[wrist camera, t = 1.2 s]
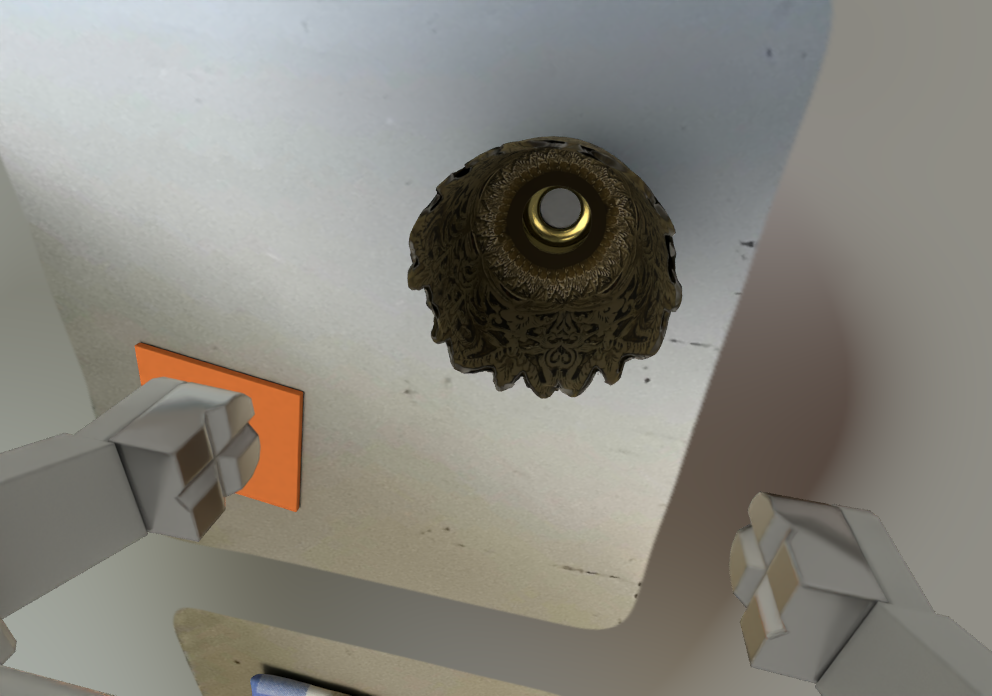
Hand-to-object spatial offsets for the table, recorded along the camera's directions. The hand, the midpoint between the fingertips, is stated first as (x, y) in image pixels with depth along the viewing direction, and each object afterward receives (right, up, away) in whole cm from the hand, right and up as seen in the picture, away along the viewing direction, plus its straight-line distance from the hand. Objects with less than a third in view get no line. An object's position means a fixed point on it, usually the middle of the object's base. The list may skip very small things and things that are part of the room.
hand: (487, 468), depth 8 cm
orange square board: (-16, -3, +23) cm, 28 cm away
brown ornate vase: (+3, +8, +13) cm, 15 cm away
